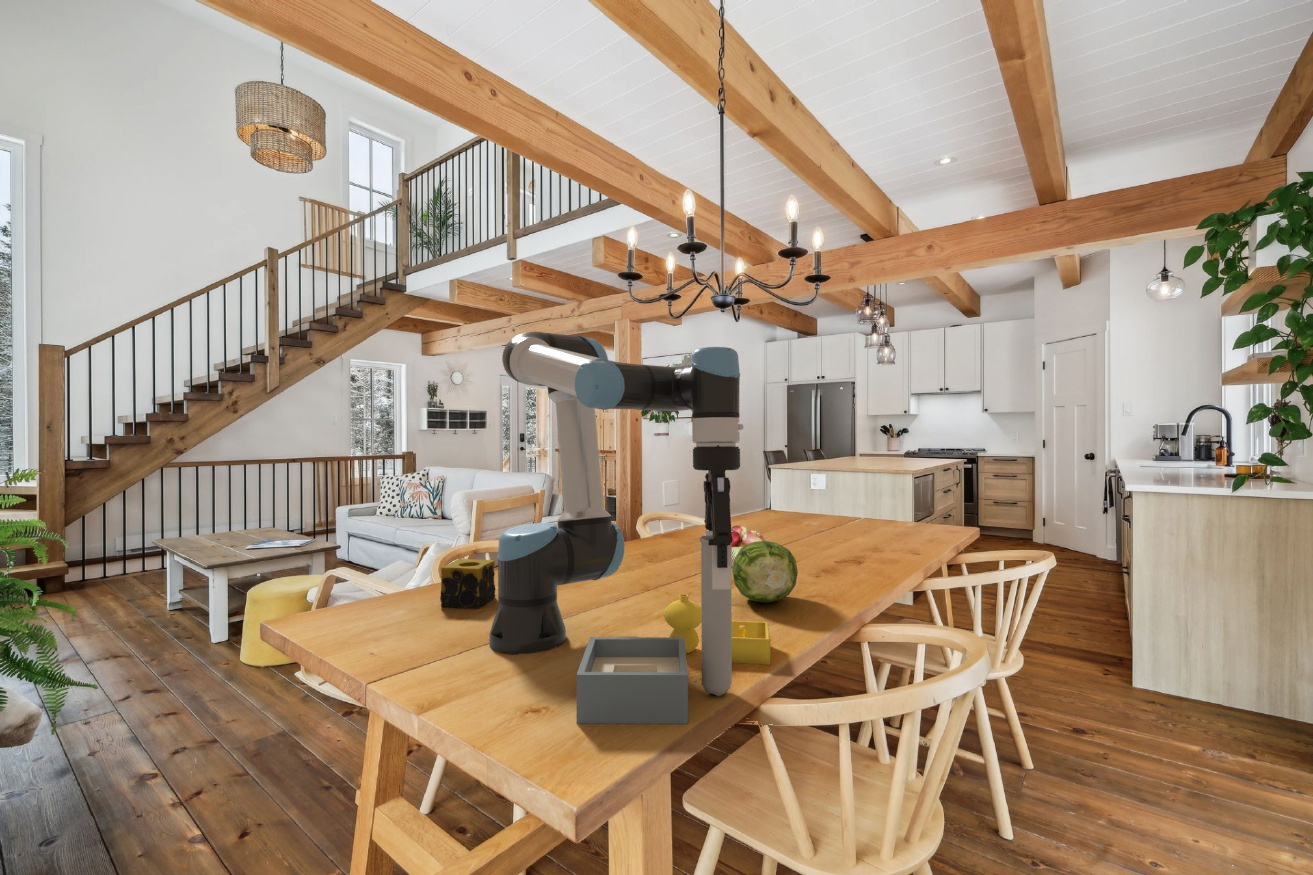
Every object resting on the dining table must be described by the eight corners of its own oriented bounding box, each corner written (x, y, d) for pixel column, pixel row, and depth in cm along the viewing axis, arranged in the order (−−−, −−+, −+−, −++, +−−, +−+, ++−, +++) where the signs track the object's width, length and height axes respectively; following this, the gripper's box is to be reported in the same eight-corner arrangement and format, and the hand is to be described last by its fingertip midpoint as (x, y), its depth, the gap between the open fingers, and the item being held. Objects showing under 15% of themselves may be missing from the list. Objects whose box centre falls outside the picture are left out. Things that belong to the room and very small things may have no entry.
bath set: (767, 645, 118) (767, 591, 118) (770, 665, 108) (770, 605, 108) (667, 641, 121) (666, 588, 121) (660, 659, 110) (660, 602, 110)
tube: (736, 700, 93) (736, 540, 93) (702, 702, 93) (702, 540, 92) (729, 686, 98) (729, 534, 98) (697, 687, 98) (697, 535, 98)
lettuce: (738, 618, 135) (738, 551, 135) (727, 593, 156) (727, 535, 156) (809, 617, 135) (809, 550, 135) (789, 593, 156) (789, 535, 156)
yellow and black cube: (458, 597, 154) (458, 558, 154) (496, 598, 153) (496, 559, 153) (439, 608, 144) (439, 567, 144) (478, 610, 142) (478, 568, 142)
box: (576, 723, 86) (576, 674, 86) (590, 678, 102) (590, 637, 102) (687, 724, 85) (687, 675, 85) (684, 678, 101) (684, 637, 101)
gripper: (751, 445, 83) (752, 598, 83) (731, 444, 108) (732, 562, 108) (697, 445, 83) (698, 599, 83) (689, 444, 108) (690, 562, 108)
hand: (717, 578), depth 95 cm, fingers open, 13 cm apart
